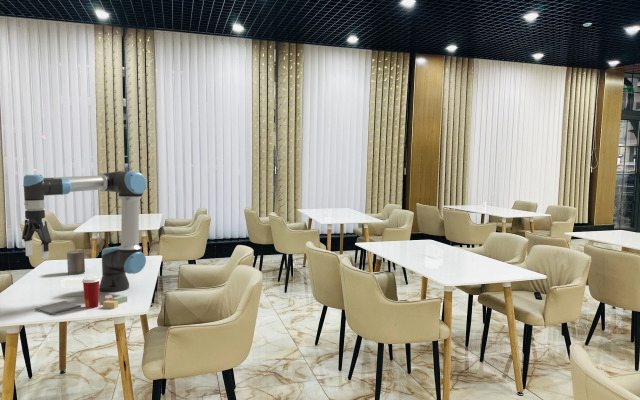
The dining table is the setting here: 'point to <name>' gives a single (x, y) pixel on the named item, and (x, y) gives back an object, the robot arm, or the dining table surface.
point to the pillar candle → (76, 262)
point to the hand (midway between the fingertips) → (37, 257)
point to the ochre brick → (110, 304)
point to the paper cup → (91, 291)
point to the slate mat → (57, 307)
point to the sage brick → (120, 299)
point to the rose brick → (108, 297)
